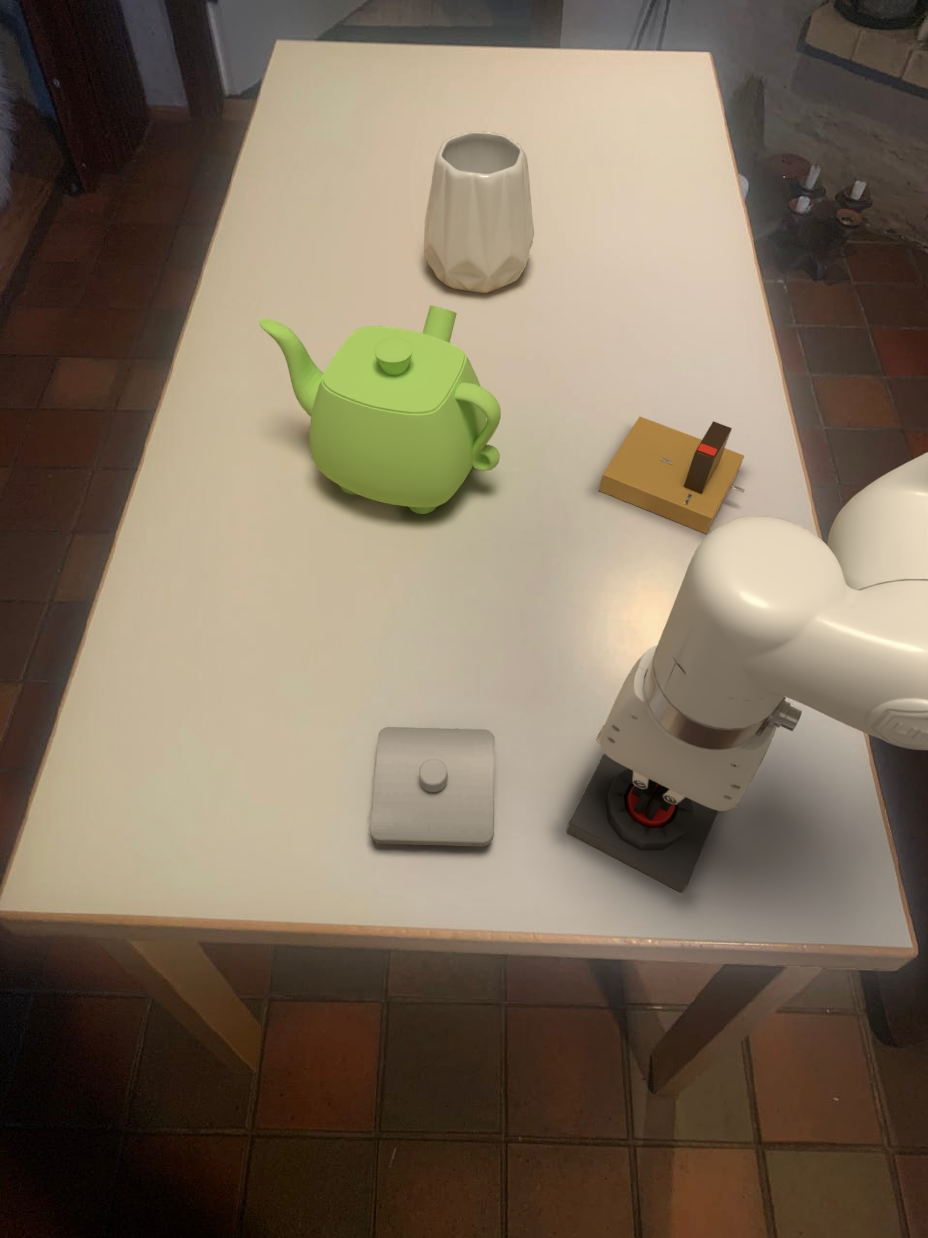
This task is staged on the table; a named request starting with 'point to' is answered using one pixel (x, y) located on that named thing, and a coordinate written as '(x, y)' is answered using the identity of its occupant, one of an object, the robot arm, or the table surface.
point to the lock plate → (667, 475)
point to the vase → (479, 212)
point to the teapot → (395, 412)
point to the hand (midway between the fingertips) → (649, 800)
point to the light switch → (433, 787)
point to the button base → (640, 828)
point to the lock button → (640, 818)
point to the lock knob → (707, 457)
